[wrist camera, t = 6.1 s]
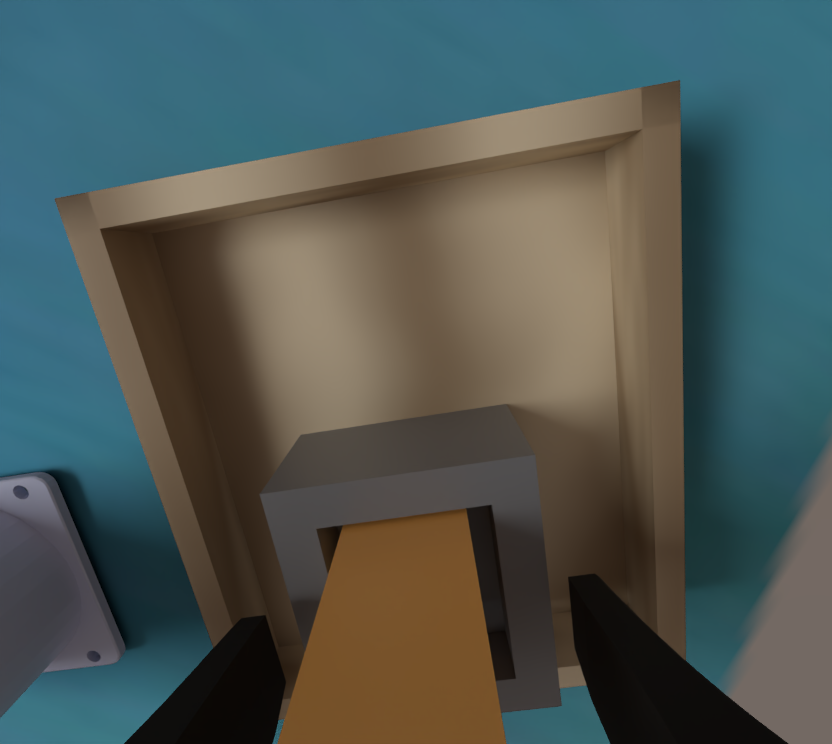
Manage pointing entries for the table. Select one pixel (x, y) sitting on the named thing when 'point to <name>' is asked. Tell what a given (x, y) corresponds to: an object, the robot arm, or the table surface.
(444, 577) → the plug
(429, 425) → the inlet socket
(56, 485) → the robot arm
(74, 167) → the table surface
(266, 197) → the walled box
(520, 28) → the table surface
